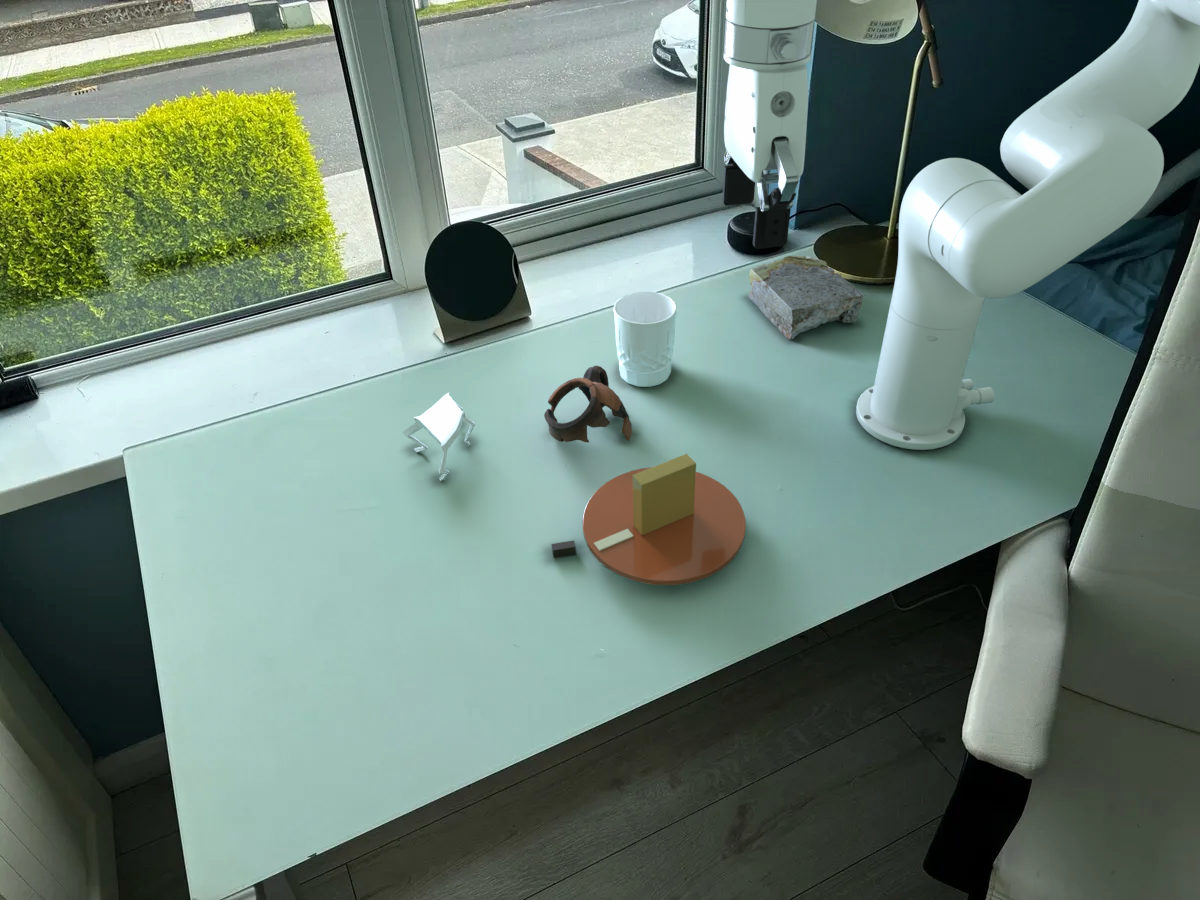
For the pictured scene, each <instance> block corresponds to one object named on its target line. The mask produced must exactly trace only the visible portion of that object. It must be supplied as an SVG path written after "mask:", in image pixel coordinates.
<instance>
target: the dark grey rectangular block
mask: <svg viewBox="0 0 1200 900" xmlns="http://www.w3.org/2000/svg"><path fill="white" fill-rule="evenodd" d="M576 547H577V546H576V543H575V540H568V541H561V542H554V543H551V552H552V558H553V559H557V558H563V557H570V556H576V555H577V549H576Z"/></svg>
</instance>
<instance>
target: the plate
mask: <svg viewBox="0 0 1200 900" xmlns="http://www.w3.org/2000/svg"><path fill="white" fill-rule="evenodd" d="M746 521H747V520H746V516H745V512H744V510H743V507H742V505H741V503H740V501H739V500H738V499H737V497H736V496H735V495H734V493H733V492H732V491H731V490H729V488H727V487H726V486H725V485H724V484H722V483H721V482H719V481H718V480H716V479H715V478H712V477H710V476H708V475H706V474H704V473H701V472H698V471H697V463H696V461H694V460H693V458H692V457H691V456H690V455H689V454H687V453H685V454H683V455H680V456H677V457H675V458H672V459H669V460H667V461H664V462H662V463H660V464H657V465H654V466H649V467H643V468H637V469H634V470H630V471H626V472H624V473H622V474H619V475H617V476H615V477H613V478H612V479H610V480H608V481H607V482H605V483H603V485H601V486H600V487H599V488H597V490H596V491H595V492H594V493H593V494H592V495H591V497H590V498H589V500H588V502H587V503H586V506H585V508H584V512H583V514H582V521H581V522H582V533H583V538H584V541H585V544H586V546H587V548H588V549H589V551H590V552H591V554H592V555H593V557H595V559H596V560H597V561H598V562H599V563H600V564H601V565H603V566H604V567H606V568H607V570H610V571H611V572H613V573H614V574H616V575H619V576H620V577H623V578H625V579H628V580H631V581H634V582H638V583H643V584H646V585H655V586H679V585H685V584H690V583H694V582H697V581H698V582H699V581H701V580H703V579H706V578H709V577H711V576H712V575H715V574H716V573H718V572H720V571H721V570H723V569H724V568H725V567H727V566H728V565H729V564H730V563H731V562H732V561H733V560H734V559H735V558H736V556H737V555H738V554H739V552H740V551H741V549H742V547H743V544H744V542H745V537H746V532H747V531H746V529H747V522H746Z"/></svg>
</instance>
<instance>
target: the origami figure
mask: <svg viewBox="0 0 1200 900" xmlns="http://www.w3.org/2000/svg"><path fill="white" fill-rule="evenodd" d="M413 419H414V423H413V424H412V425H410V426H409V427H407V428H406V429H405V430H404V431H402V434H403V435H404V436H405V437H407V438H408V439H410V440H411V441H413V442H414V443H416V444H417V445H419V447H415V448H413V451H414V452H415V453H418V452H422V451H425V450H428V449H429V447H428V446H427V445H426V444H425V443H423V442H422V441H420V440H419V439H417V438H416V437H415V436H413V435H414V434H415V433H417V432H418V431H420V430H422V429H424V430H425V431H426V432H427V433H428V434H429V435H430V436H431V437H432V438H433V439H434V440H435V441H436V442H437V444H439V445H440V447H441V450H442V456H441V460H440V463H439V468H438V474H439V475H441V476H440V477H439V481H440V482H442V481H444V480H445V478H446V477H447V476H448V474H449V473H450V471H449V469H446V464H447V458H448V450H449V448H450V447H451V446H452V444H454V442H455V441H456V439H457V438H458V437H459V435H460V433H461V430H462V427H463V422H464V421H466V422H467V423H469V424H470V425H469V428H468V430H467V432H466V434H465V437H464V439H463V441H464V443H466V445H467V446H470V445H471V443H470V441H468V438H469V436H470V435H471V433H472V431H473V430H474V427H475V425H476V423H475V422H474V420H472V419H471V418H469V417H467V416H466V413H465V411H464V408H463V406H461V405H460V404H459V403H458V402H457V401H456V400H455V399H454V398H452V396H451V395H450V391H449V392H447V393H446V394H444V395H443V396H442V397H441V398H440V399H439V400H438V401H437V402H436V403H434V404H433V405H432V406H431V407H430V408H428V409H427V410H426V411H424V412H423V413H422V414H420V415H419V416H413Z"/></svg>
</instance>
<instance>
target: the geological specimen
mask: <svg viewBox="0 0 1200 900" xmlns="http://www.w3.org/2000/svg"><path fill="white" fill-rule="evenodd" d="M748 275H749V284H750V286H751V290H750V292H748V295H747V297H748V298H749V300H750V301H751V302H752V303H753V304H754V305H755V306H756V307H757V308H758V310H759V311H761V313H762V314H763V315H764V316H765V317H766V318H767V319H768V320H769V321H770V323H772V325H773V326H775V327H776V328H777V329H778V331H779V332H780V333H781V334H782V335H783V336H784V337H785V338H786V339H787V340H789V341H792V340H794V339H795V337H796V336H798V335H799V334H800V333H805V332H807V331H809V330H814V329H816V328H817V327H819V326H820V325H822V324H823V325H825V324H826V323H833V322H835V321H839V322H842V323H844V324H847V323H849V324H856V322H857V320H858V317H859V314H860V312H861V310H862V304H863V300H864V294H863V293H862V292H861V291H860V290H859V289H858V288H857V287H855V286H854V285H853V284H851V282H850V281H848V280H847V279H845V278H844V277H843V276H841V274H840V273H838V272H835V269H834V268H832V267H829V265H828V262H826V261H825V260H822V259H819V258H814V257H811V256H808V255H807V256H805V255H788V256H787V255H786V256H785V257H783V258H780V259H775V260H774V261H773V262H769V263H763V264H761V265H757V266H756V267H753V268H751V269H750V271H749V274H748Z"/></svg>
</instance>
